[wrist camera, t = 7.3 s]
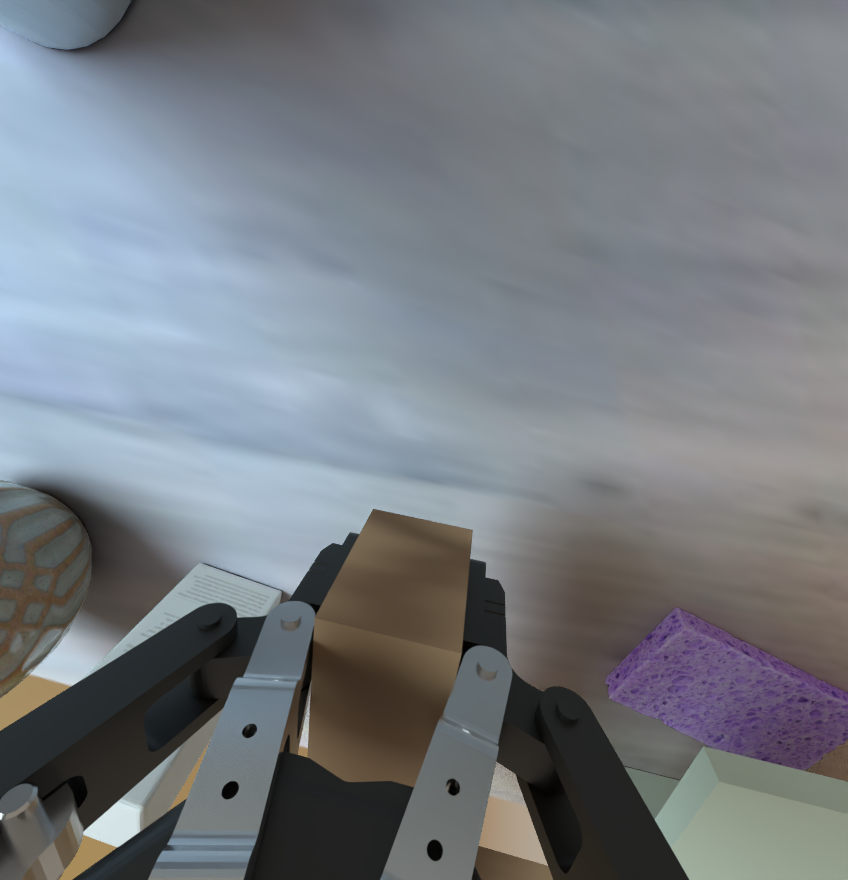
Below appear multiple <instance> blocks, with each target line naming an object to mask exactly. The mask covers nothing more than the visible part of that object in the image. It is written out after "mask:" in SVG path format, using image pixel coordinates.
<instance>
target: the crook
mask: <svg viewBox="0 0 848 880" xmlns="http://www.w3.org/2000/svg"><path fill="white" fill-rule="evenodd" d="M472 531H473V530H470V529H465V528H460V527H456V526H451V525H446V524H442V523H437V522H432V521H427V520H423V519H418V518H413V517H409V516H404V515H399V514H394V513H390V512H385V511H380V510H376V509H373V510H372V512H371V514H370V516H369V518H368V520H367V522H366V523H365V525H364V527H363V529H362V531H361V533H360V535H359V536H358V538H357V540H356V542H355V544H354V546H353V548H352V549H351V551H350V553H349V555H348V557H347V559H346V560H345V562H344V564H343V566H342V568H341V570H340V572H339V573H338V575H337V577H336V579H335V581H334V583H333V585H332V586H331V588H330V590H329V592H328V594H327V596H326V598H325V599H324V601H323V603H322V605H321V607H320V609H319V611H318V612H317V614H316V616H315V619H314V639H313V659H312V679H311V699H310V719H309V739H308V758H310V759H312V760H313V761H315V762H316V763H318V764H319V765H321V766H322V767H324V768H325V769H327V770H328V771H330V772H331V773H333V774H334V775H336V776H337V777H339V778H340V779H342V780H344V781H346V782H371V781H393V782H397V783H400V784H404V785H407V786H411V787H414V786H415V784H416V781H417V778H418V775H419V773H420V770H421V767H422V764H423V762H424V759H425V756H426V754H427V751H428V748H429V745H430V743H431V740H432V737H433V734H434V732H435V729H436V726H437V724H438V721H439V719H440V717H442V715H443V713H444V710H445V707H446V704H447V702H448V699H449V696H450V693H451V691H452V688H453V685H454V682H455V679H456V675H457V671H458V667H459V662H460V658H461V654H462V644H463V633H464V621H465V610H466V599H467V587H468V576H469V565H470V554H471V542H472ZM475 866H476V869H477V871H478V873H479V875H480V878H481V880H553V878H552V875H551V872H550V869H549V867H548V866H546V865H543V864H539V863H536V862H533V861H529V860H525V859H522V858H518V857H515V856H512V855H508V854H505V853H501V852H498V851H494V850H491V849H488V848H484V847H480V846H478V851H477V855H476V860H475Z"/></svg>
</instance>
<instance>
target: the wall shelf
mask: <svg viewBox="0 0 848 880" xmlns="http://www.w3.org/2000/svg"><path fill="white" fill-rule="evenodd" d="M625 769H626V771H627V773H628V774H629V776H630V778H631V780H632V781H633V783H634V785H635V786H636V788H637V790H638V792H639V793H640V795H641V797H642V799H643V800H644V802H645V804H646V806H647V807H648V809H649V811H650V812H651V814H652V816H653V818H654V819H655V821H656V823H657V825H658V826H659V828H660V830H661V831H662V833H663V835H664V837H665V838H666V840H667V842H668V844H669V845H670V847H671V849H672V850H673V852H674V854H675V856H676V857H677V859H678V861H679V863H680V864H681V866H682V868H683V869H684V871H685V873H686V875H687V876H688V878H689V880H848V782H847V781H843V780H839V779H835V778H831V777H827V776H823V775H819V774H815V773H811V772H806V771H802V770H798V769H794V768H790V767H786V766H782V765H778V764H774V763H770V762H766V761H762V760H757V759H753V758H749V757H745V756H741V755H737V754H733V753H729V752H725V751H721V750H717V749H713V748H708V747H704V746H703V747H702V749H701V750H700V752H699V753H698V755H697V756H696V758H695V759H694V761H693V762H692V764H691V765H690V767H689V768H688V770H687V771H686V773H685V774H684V776H683V777H682V779H681V780H680V781H679V780H676V779H672V778H668V777H664V776H660V775H656V774H652V773H648V772H644V771H640V770H636V769H632V768H628V767H625Z"/></svg>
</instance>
